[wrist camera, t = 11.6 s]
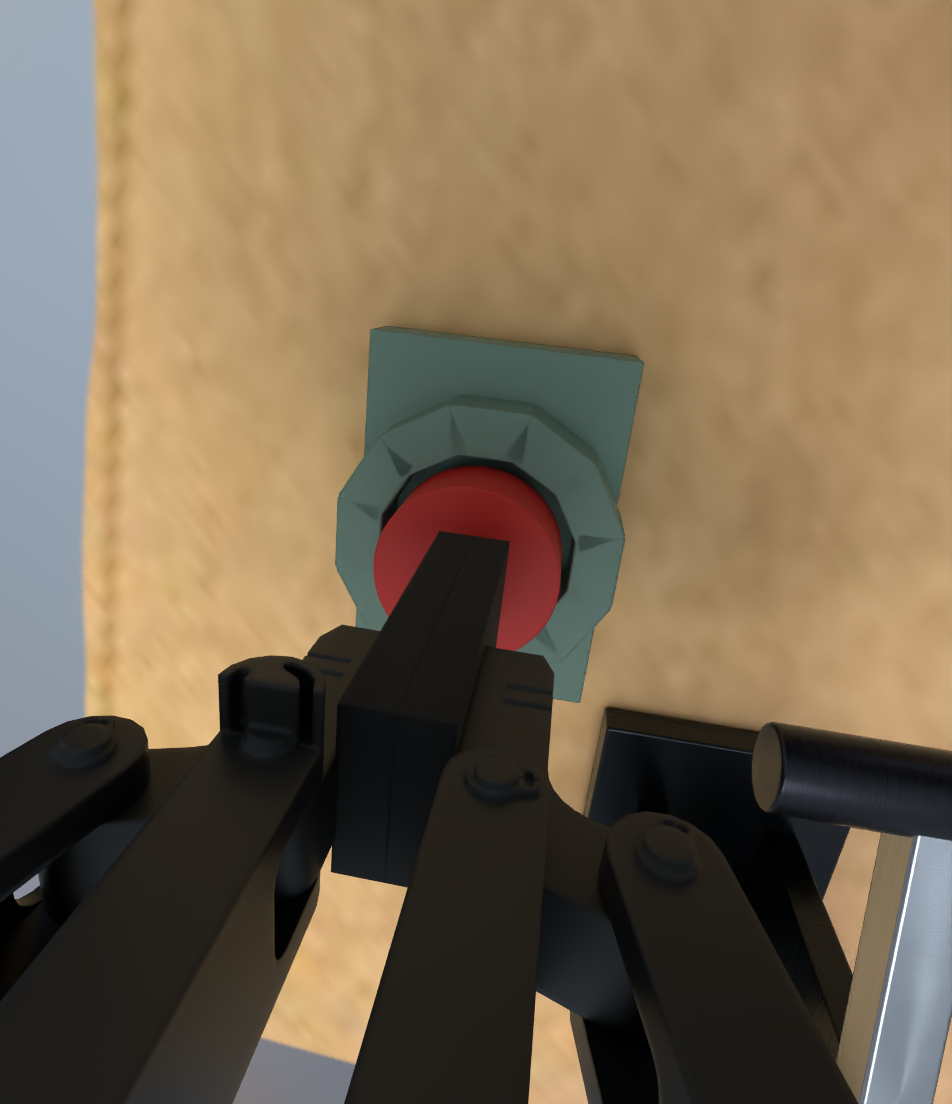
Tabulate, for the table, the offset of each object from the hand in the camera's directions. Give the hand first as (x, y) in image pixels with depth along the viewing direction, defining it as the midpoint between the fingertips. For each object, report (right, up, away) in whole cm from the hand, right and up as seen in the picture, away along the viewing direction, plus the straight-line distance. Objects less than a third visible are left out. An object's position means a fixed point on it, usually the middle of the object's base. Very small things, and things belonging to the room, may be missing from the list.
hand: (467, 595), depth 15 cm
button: (0, +1, +3) cm, 3 cm away
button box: (+1, +2, +6) cm, 6 cm away
